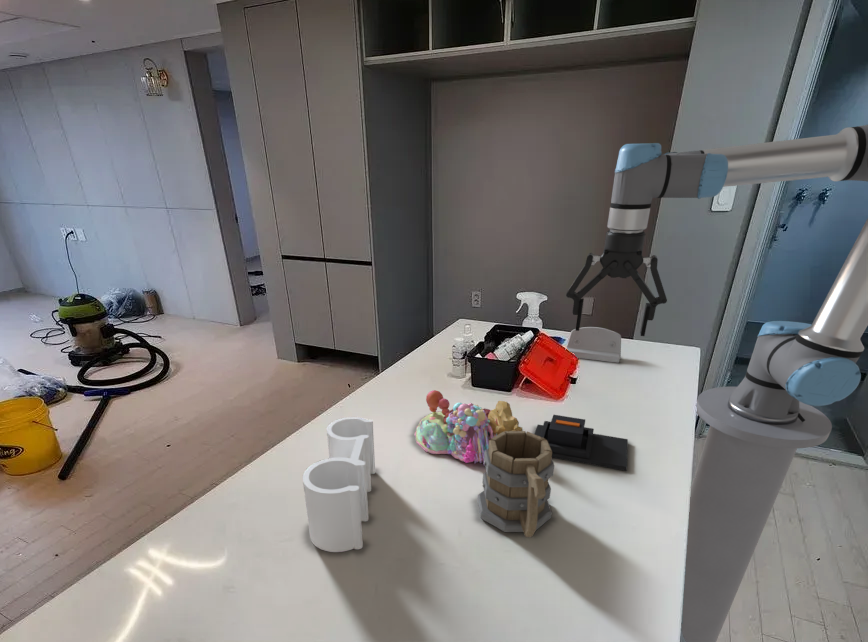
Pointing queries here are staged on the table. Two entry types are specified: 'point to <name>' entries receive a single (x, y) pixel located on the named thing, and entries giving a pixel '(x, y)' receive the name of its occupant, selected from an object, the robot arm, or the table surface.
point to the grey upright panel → (595, 344)
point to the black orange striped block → (566, 431)
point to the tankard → (516, 482)
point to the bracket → (341, 486)
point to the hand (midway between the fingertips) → (609, 331)
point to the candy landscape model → (462, 428)
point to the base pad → (591, 449)
